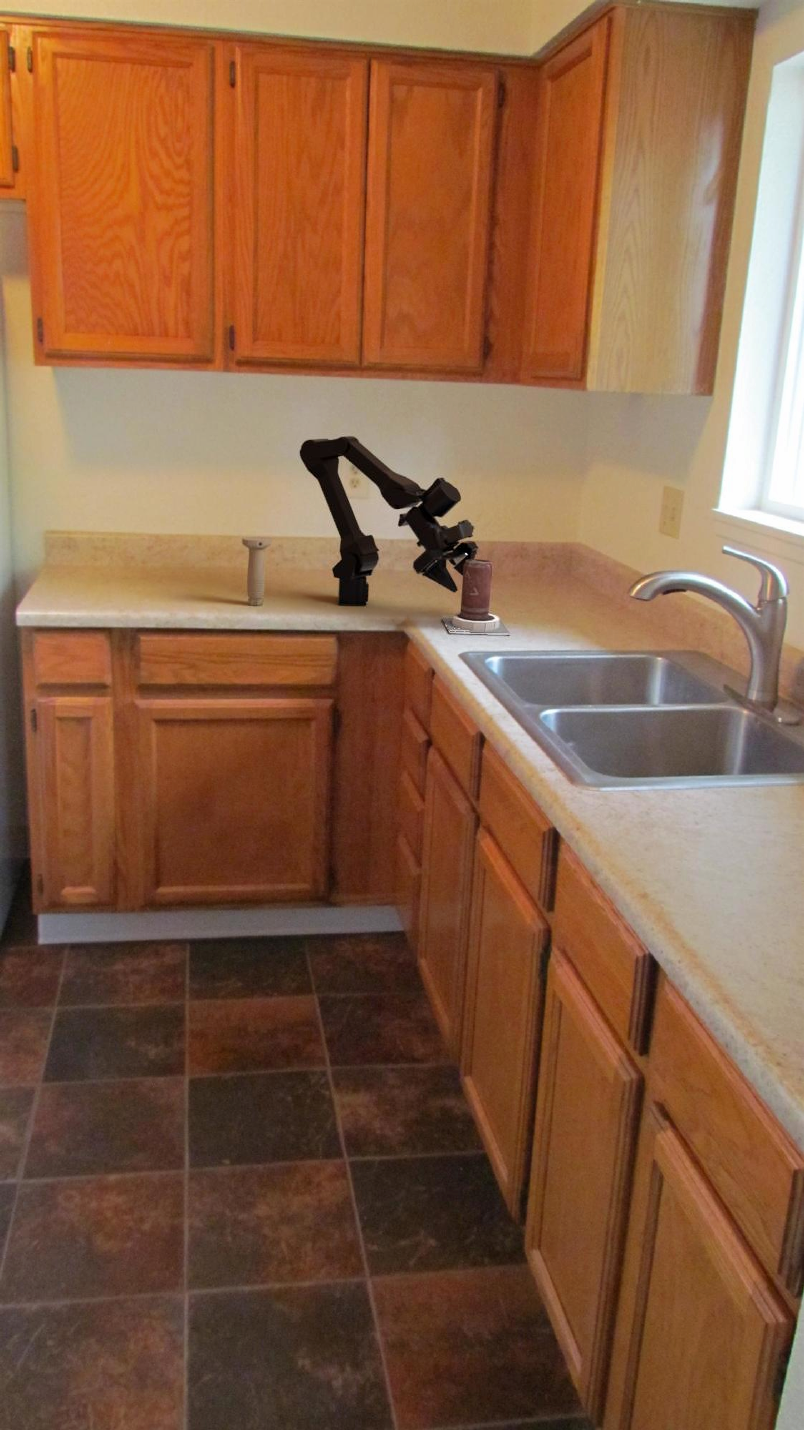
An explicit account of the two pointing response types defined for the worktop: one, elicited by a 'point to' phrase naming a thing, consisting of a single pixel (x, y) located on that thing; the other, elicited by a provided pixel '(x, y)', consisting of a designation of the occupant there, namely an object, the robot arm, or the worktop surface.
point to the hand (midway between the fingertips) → (467, 588)
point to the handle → (256, 568)
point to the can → (476, 590)
